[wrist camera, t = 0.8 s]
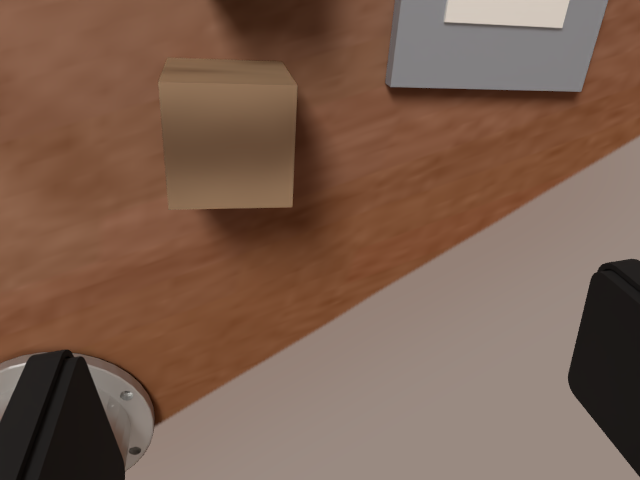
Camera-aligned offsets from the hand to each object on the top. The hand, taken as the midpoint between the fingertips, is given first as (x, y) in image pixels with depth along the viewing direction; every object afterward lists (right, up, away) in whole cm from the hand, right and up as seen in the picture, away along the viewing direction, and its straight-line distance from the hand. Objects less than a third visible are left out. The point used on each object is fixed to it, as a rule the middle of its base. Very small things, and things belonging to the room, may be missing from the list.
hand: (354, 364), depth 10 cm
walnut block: (-6, +9, +20) cm, 23 cm away
